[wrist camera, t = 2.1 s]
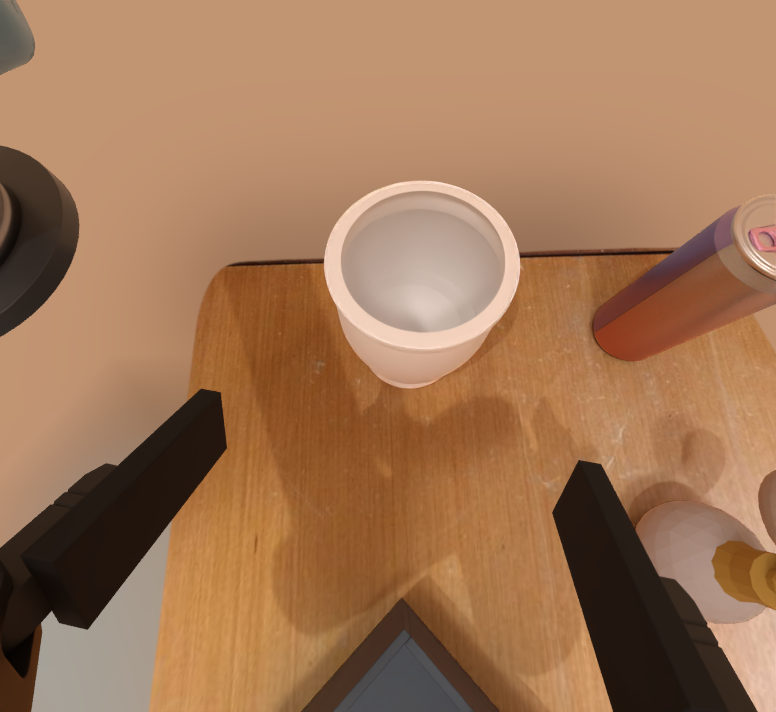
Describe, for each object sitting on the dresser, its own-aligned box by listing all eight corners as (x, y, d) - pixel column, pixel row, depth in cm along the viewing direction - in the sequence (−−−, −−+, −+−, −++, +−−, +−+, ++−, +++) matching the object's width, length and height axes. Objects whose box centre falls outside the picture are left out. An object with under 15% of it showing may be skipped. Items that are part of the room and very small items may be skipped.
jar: (361, 410, 32) (337, 366, 18) (344, 304, 35) (312, 192, 21) (478, 389, 33) (547, 330, 18) (452, 286, 36) (494, 165, 21)
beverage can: (582, 305, 35) (717, 193, 21) (644, 300, 35) (821, 186, 21) (597, 365, 33) (755, 289, 19) (662, 360, 33) (868, 281, 19)
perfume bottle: (628, 606, 28) (796, 705, 16) (597, 472, 31) (721, 476, 19) (725, 597, 28) (960, 689, 16) (685, 464, 31) (861, 463, 19)
